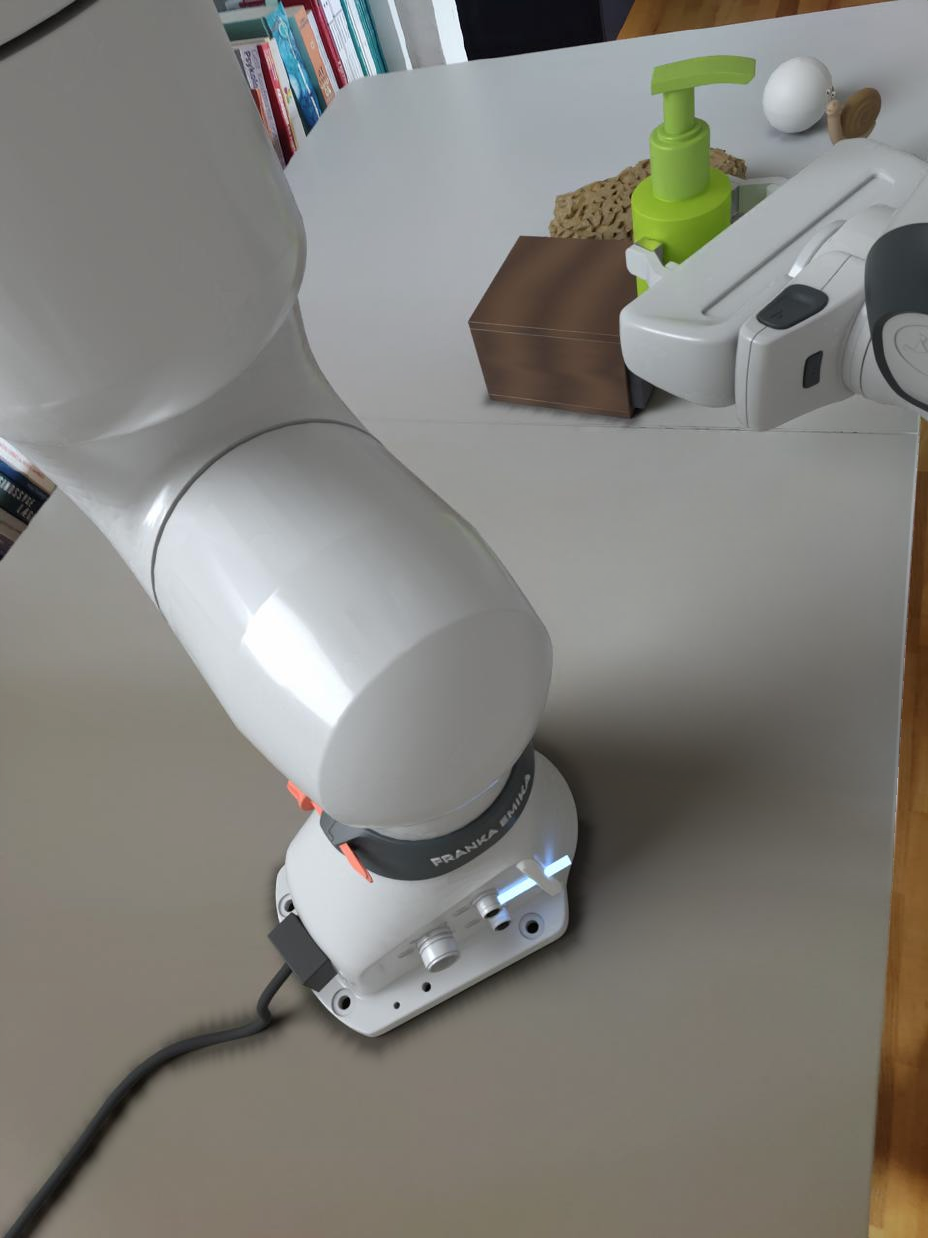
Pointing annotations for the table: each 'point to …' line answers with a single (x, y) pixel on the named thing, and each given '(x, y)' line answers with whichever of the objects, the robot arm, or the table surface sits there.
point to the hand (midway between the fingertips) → (674, 222)
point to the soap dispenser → (685, 162)
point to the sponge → (616, 202)
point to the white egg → (797, 94)
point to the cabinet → (557, 326)
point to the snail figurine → (853, 115)
